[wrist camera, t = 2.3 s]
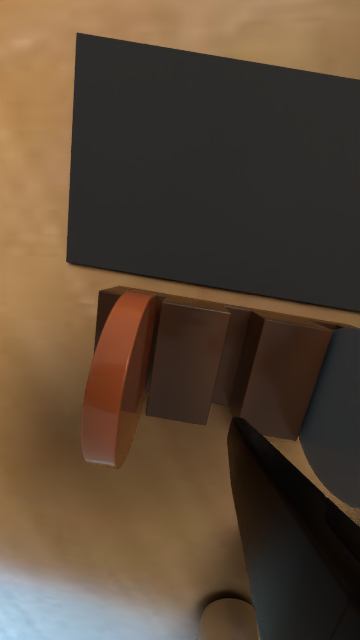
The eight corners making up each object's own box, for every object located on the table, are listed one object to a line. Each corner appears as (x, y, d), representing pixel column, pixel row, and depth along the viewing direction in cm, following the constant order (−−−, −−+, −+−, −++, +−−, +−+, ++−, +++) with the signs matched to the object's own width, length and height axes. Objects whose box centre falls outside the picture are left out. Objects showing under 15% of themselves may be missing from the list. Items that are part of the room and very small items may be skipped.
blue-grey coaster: (334, 316, 14) (517, 375, 6) (298, 424, 16) (405, 575, 8) (316, 313, 14) (475, 368, 6) (282, 421, 16) (372, 569, 8)
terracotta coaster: (163, 287, 14) (130, 309, 6) (146, 398, 16) (106, 523, 8) (144, 284, 14) (88, 302, 6) (130, 395, 16) (73, 518, 8)
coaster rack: (350, 324, 15) (397, 341, 12) (319, 413, 17) (352, 450, 13) (119, 285, 15) (98, 290, 12) (109, 378, 17) (89, 406, 13)
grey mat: (362, 311, 15) (367, 313, 14) (69, 262, 15) (66, 261, 14) (439, 99, 12) (448, 94, 12) (79, 39, 12) (76, 31, 12)
